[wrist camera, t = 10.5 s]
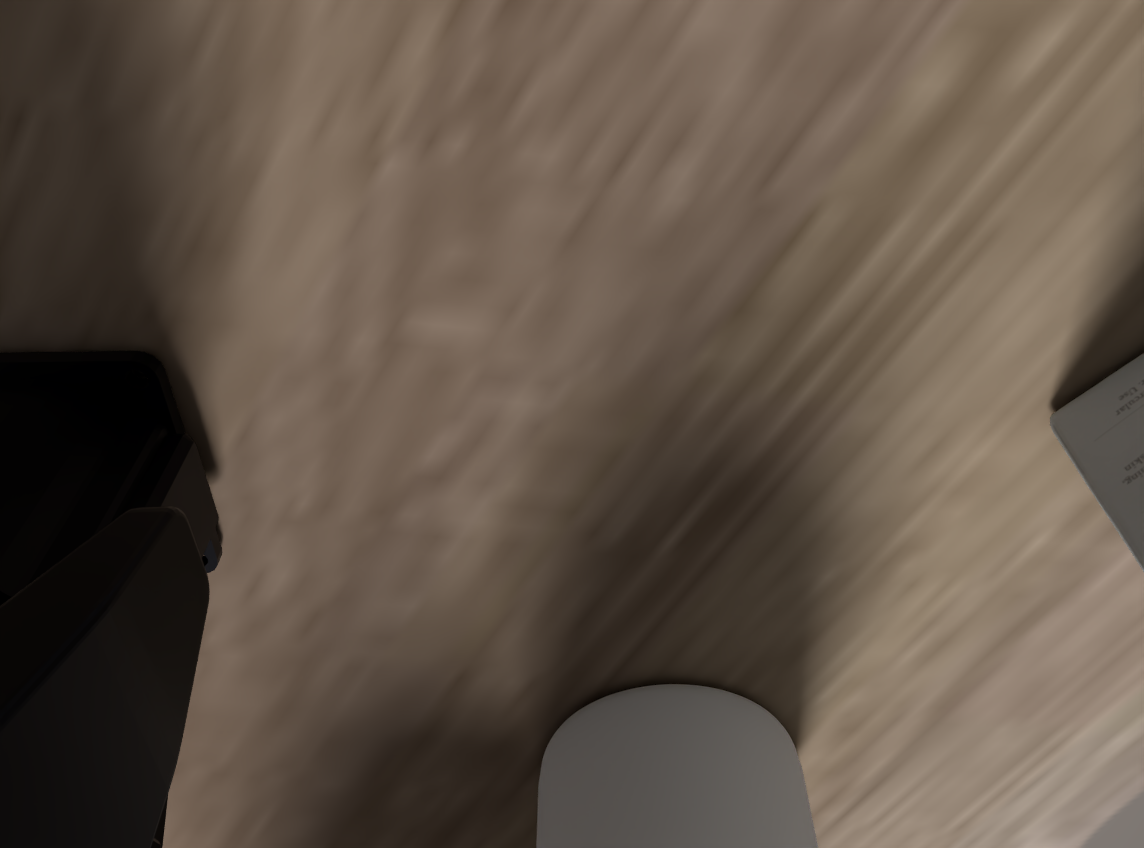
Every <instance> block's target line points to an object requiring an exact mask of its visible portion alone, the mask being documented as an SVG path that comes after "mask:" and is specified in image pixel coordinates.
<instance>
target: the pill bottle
mask: <svg viewBox="0 0 1144 848" xmlns="http://www.w3.org/2000/svg"><path fill="white" fill-rule="evenodd" d="M536 848H818V844H817V839H816V834H815V830H814V825H813V820H812V815H811V810H810V805H809V800H808V795H807V790H806V785H805V780H804V775H803V770H802V766H801V764H800V761H799V758H798V754H797V751H796V748H795V746H794V743H793V741H792V739H791V737H790V736H789V734H788V732H787V731H786V729H785V728H784V727H783V725H782V724H781V723H780V722H779V721H778V720H777V719H776V718H775V717H774V716H773V715H772V714H771V713H770V712H768V711H767V710H766V709H764V708H763V707H761V706H760V705H758V704H756V703H755V702H753V701H751V700H749V699H747V698H744V697H742V696H740V695H737V694H734V693H731V692H728V691H724V690H720V689H716V688H711V687H705V686H698V685H686V684H664V685H652V686H644V687H638V688H633V689H629V690H625V691H621V692H617V693H614V694H611V695H608V696H606V697H603V698H601V699H599V700H596V701H594V702H592V703H590V704H588V705H587V706H585V707H583V708H582V709H580V710H578V711H577V712H576V713H574V714H573V715H572V716H570V717H569V718H568V719H567V720H566V721H565V722H564V723H563V724H562V725H561V726H560V727H559V728H558V730H557V731H556V732H555V734H554V735H553V737H552V738H551V740H550V742H549V743H548V746H547V748H546V750H545V753H544V756H543V760H542V765H541V772H540V778H539V786H538V814H537V843H536Z"/></svg>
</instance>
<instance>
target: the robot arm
mask: <svg viewBox="0 0 1144 848" xmlns="http://www.w3.org/2000/svg"><path fill="white" fill-rule="evenodd" d="M132 370H136V371H140V372H142V373H143V374H145V375H146V377H147V378H148V379H142V378H139V377H138V376H136V375H135V374H134V373H133V371H132ZM218 519H219V517H218V513H217V510H216V507H215V504H214V501H213V497H212V494H211V491H210V488H209V485H208V481H207V478H206V475H205V472H204V469H203V465H202V462H201V459H200V456H199V453H198V449H197V446H196V443H195V442H194V441H193V440H192V439H191V438H190V436H189V435H188V434H185V431H184V427H183V424H182V421H181V418H180V415H179V412H178V408H177V405H176V402H175V399H174V396H173V393H172V390H171V386H170V383H169V380H168V377H167V374H166V371H165V368H164V367H163V365H162V363H161V362H160V361H159V360H158V359H157V358H156V357H155V356H153V355H151V354H149V353H146V352H141V351H90V352H16V353H0V848H162V845H163V836H164V827H165V818H166V808H167V799H168V792H169V789H170V785H171V782H172V778H173V775H174V771H175V768H176V764H177V760H178V756H179V751H180V747H181V742H182V738H183V733H184V728H185V723H186V718H187V712H188V707H189V702H190V697H191V692H192V687H193V682H194V676H195V671H196V666H197V661H198V656H199V651H200V645H201V640H202V635H203V630H204V625H205V620H206V615H207V609H208V604H209V581H208V576H207V573H209V572H211V571H213V570H215V568H216V567H217V565H218V563H219V560H220V558H221V555H222V547H221V544H220V541H219V538H218V534H217V531H216V528H215V527H216V525H217V523H218ZM203 555H205V556H203Z"/></svg>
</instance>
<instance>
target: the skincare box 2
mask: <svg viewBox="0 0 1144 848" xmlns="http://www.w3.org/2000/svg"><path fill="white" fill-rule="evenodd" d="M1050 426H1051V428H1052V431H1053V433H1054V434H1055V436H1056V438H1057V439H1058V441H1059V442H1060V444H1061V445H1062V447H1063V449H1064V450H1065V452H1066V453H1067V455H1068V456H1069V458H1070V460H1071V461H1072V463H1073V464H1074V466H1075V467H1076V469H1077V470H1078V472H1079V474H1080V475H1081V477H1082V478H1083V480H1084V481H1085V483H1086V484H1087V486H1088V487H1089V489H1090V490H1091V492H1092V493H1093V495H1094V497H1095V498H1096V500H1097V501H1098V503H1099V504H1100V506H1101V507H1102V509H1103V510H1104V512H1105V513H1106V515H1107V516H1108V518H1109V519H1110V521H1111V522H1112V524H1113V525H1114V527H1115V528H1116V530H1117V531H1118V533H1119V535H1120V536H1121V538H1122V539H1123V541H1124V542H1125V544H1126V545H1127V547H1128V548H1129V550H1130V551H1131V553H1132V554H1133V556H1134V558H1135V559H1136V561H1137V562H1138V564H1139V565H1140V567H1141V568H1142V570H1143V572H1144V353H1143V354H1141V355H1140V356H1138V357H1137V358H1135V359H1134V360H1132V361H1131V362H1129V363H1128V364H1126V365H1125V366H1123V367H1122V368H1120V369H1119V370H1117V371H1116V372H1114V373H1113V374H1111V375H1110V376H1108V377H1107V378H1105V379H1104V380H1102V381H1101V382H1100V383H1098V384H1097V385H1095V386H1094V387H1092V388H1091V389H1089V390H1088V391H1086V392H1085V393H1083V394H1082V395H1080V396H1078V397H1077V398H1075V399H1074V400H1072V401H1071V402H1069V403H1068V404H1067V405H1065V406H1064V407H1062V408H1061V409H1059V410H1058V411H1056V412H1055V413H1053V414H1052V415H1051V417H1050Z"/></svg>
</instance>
